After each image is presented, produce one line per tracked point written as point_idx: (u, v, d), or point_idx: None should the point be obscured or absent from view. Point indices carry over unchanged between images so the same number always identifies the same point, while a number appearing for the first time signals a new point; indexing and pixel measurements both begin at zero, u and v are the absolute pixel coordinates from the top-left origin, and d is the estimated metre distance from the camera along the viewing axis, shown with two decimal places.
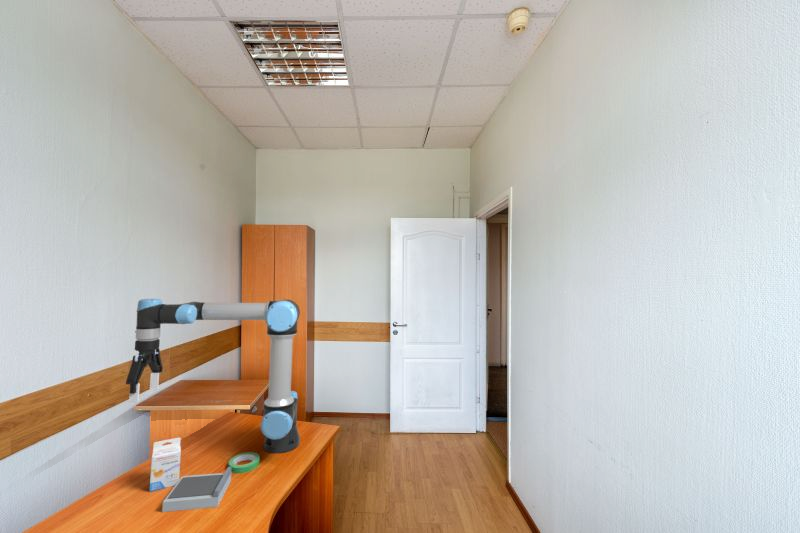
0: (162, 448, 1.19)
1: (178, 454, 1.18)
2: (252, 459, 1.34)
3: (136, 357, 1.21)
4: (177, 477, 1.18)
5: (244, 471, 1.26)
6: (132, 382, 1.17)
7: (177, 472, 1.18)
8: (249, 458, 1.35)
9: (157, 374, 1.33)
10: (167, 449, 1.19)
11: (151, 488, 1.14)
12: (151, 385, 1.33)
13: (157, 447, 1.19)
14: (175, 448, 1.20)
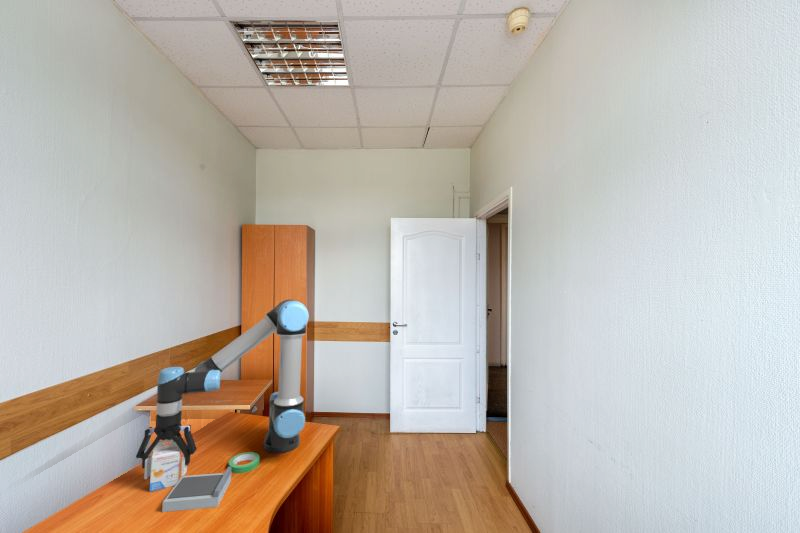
0: (162, 448, 1.19)
1: (178, 454, 1.18)
2: (252, 459, 1.34)
3: None
4: (177, 477, 1.18)
5: (244, 471, 1.26)
6: None
7: (177, 472, 1.18)
8: (249, 458, 1.35)
9: None
10: (167, 449, 1.19)
11: (151, 488, 1.14)
12: None
13: (158, 447, 1.19)
14: (175, 448, 1.20)
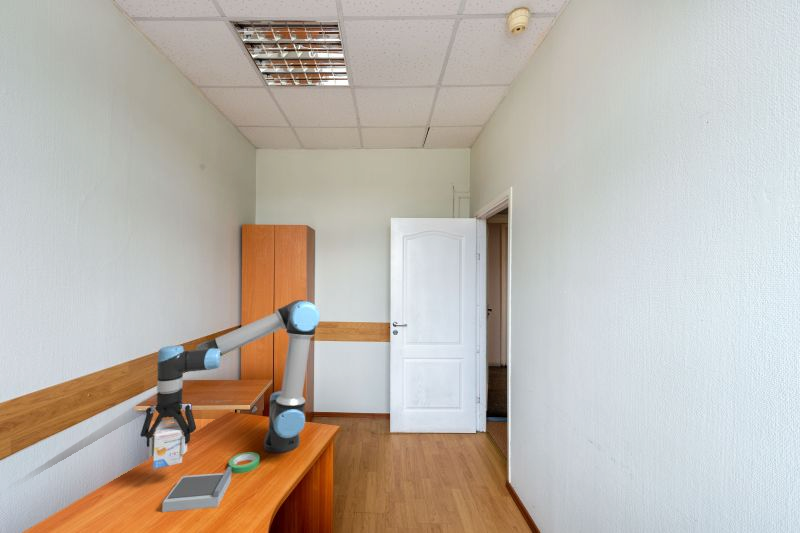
0: (165, 427, 1.20)
1: (180, 432, 1.18)
2: (252, 459, 1.34)
3: None
4: (180, 455, 1.18)
5: (244, 471, 1.26)
6: None
7: (180, 450, 1.18)
8: (249, 458, 1.35)
9: (182, 436, 1.18)
10: (169, 428, 1.20)
11: (154, 466, 1.14)
12: None
13: (160, 426, 1.19)
14: (177, 427, 1.20)
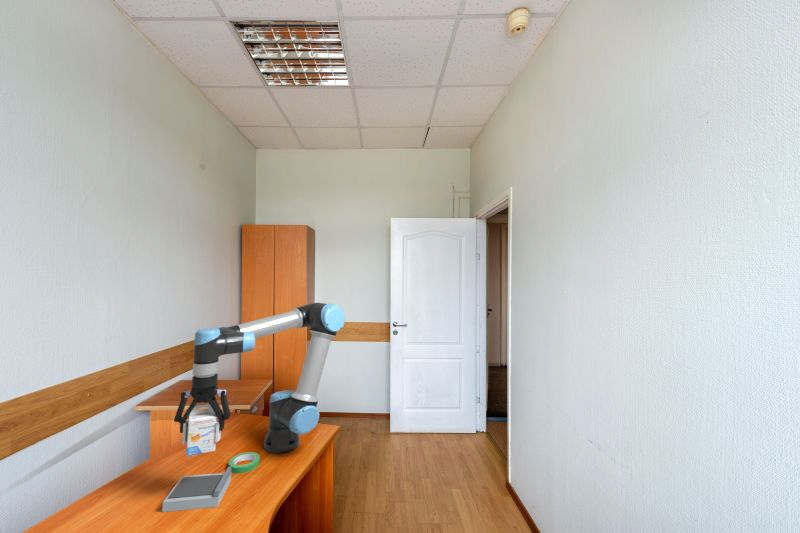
0: (198, 413, 1.15)
1: (215, 419, 1.13)
2: (252, 459, 1.34)
3: None
4: (214, 443, 1.13)
5: (244, 471, 1.26)
6: None
7: (214, 437, 1.13)
8: (249, 458, 1.35)
9: None
10: (203, 414, 1.15)
11: (188, 453, 1.09)
12: None
13: (194, 412, 1.14)
14: (211, 413, 1.15)
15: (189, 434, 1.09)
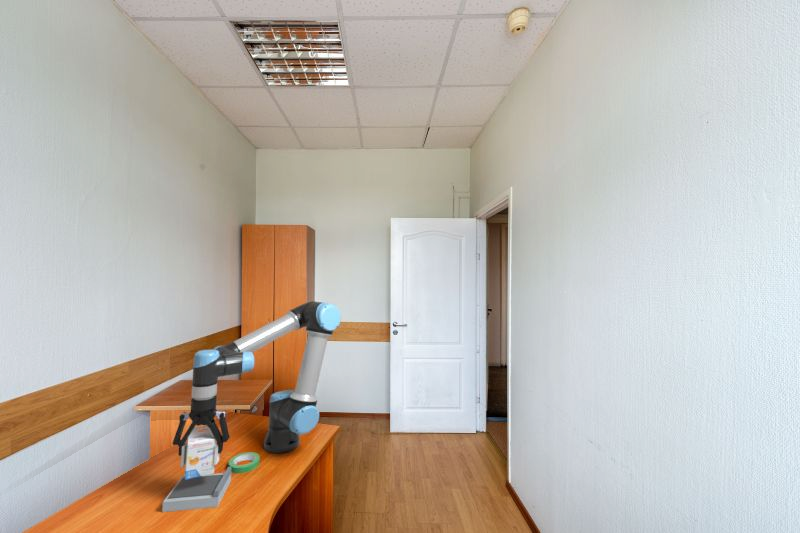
0: (197, 435, 1.14)
1: (214, 441, 1.13)
2: (252, 459, 1.34)
3: None
4: (212, 465, 1.13)
5: (244, 471, 1.26)
6: None
7: (213, 460, 1.13)
8: (249, 458, 1.35)
9: None
10: (202, 436, 1.14)
11: (187, 476, 1.09)
12: None
13: (192, 434, 1.14)
14: (210, 435, 1.15)
15: (188, 457, 1.09)
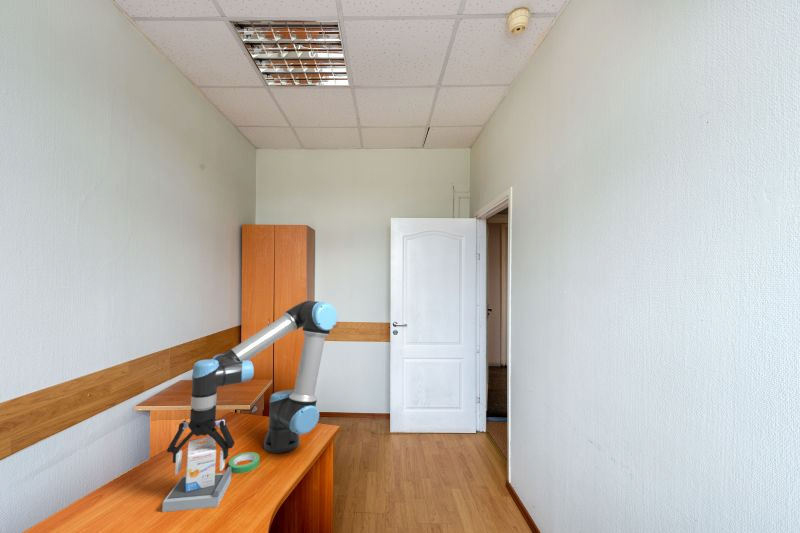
0: (197, 447, 1.14)
1: (214, 453, 1.13)
2: (252, 459, 1.34)
3: None
4: (213, 477, 1.13)
5: (244, 471, 1.26)
6: None
7: (213, 472, 1.13)
8: (249, 458, 1.35)
9: None
10: (202, 448, 1.14)
11: (187, 489, 1.09)
12: None
13: (192, 446, 1.14)
14: (210, 447, 1.15)
15: (188, 470, 1.09)
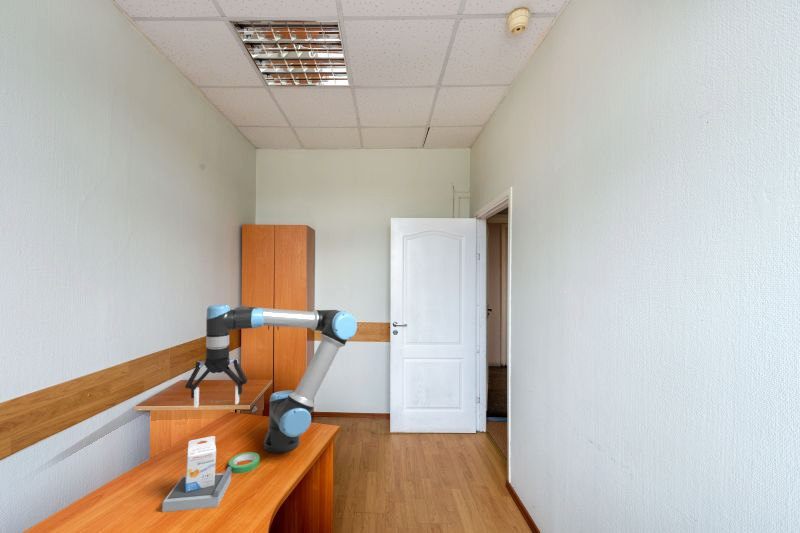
0: (197, 447, 1.14)
1: (214, 453, 1.13)
2: (252, 459, 1.34)
3: None
4: (213, 477, 1.13)
5: (244, 471, 1.26)
6: None
7: (213, 472, 1.13)
8: (249, 458, 1.35)
9: None
10: (202, 448, 1.14)
11: (187, 489, 1.09)
12: None
13: (192, 446, 1.14)
14: (210, 447, 1.15)
15: (188, 470, 1.09)
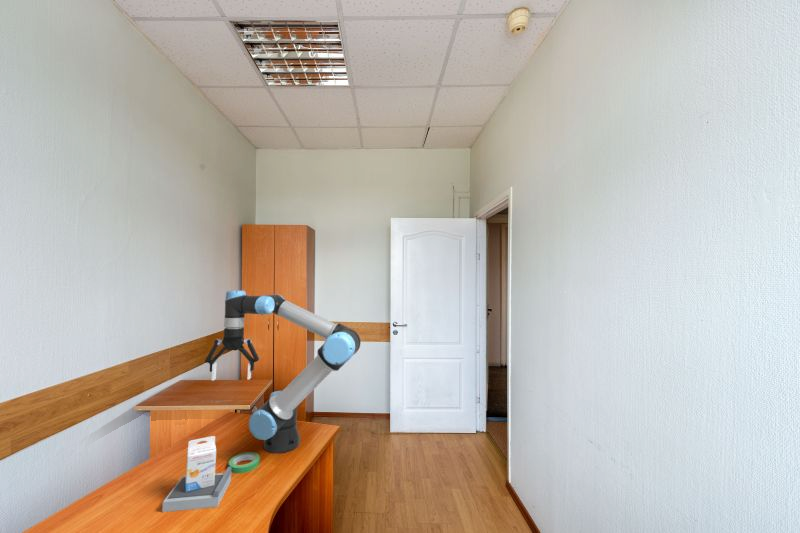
0: (197, 447, 1.14)
1: (214, 453, 1.13)
2: (252, 459, 1.34)
3: None
4: (213, 477, 1.13)
5: (244, 471, 1.26)
6: None
7: (213, 472, 1.13)
8: (249, 458, 1.35)
9: None
10: (202, 448, 1.14)
11: (187, 489, 1.09)
12: None
13: (192, 446, 1.14)
14: (210, 447, 1.15)
15: (188, 470, 1.09)
